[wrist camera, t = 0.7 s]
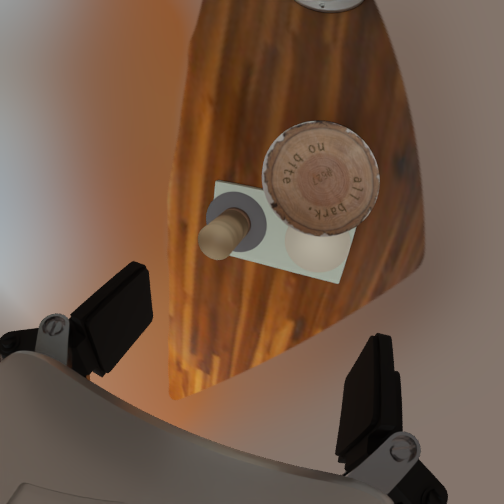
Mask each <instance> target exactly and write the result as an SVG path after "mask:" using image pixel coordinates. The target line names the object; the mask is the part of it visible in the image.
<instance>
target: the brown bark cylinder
mask: <svg viewBox="0 0 504 504" xmlns="http://www.w3.org/2000/svg"><path fill="white" fill-rule="evenodd" d="M379 183H380V180H379V170H378V166H377V163H376V160H375V157H374V155H373V153H372V152H371V150H370V148H369V147H368V145H367V144H366V143H365V142H364V140H363V139H362V138H361V137H360V136H358V135H357V134H356V133H355V132H353V131H352V130H350V129H349V128H347V127H345V126H343V125H340V124H337V123H334V122H329V121H309V122H304V123H301V124H298V125H296V126H293V127H291V128H289V129H288V130H286V131H285V132H283V133H282V134H281V135H280V136H279V137H278V138H277V139H276V140H275V141H274V142H273V144H272V145H271V146H270V148H269V150H268V152H267V154H266V156H265V159H264V163H263V168H262V185H263V190H264V194H265V196H266V199H267V201H268V203H269V205H270V207H271V208H272V210H273V211H274V213H275V214H276V215H277V216H278V217H279V218H280V219H281V220H282V221H283V222H284V223H285V224H287V225H288V226H290V227H291V228H293V229H295V230H297V231H299V232H301V233H304V234H307V235H311V236H319V237H328V236H335V235H339V234H342V233H345V232H347V231H350V230H351V229H353V228H355V227H356V226H357V225H359V224H360V223H361V222H362V221H363V220H364V219H365V218H366V217H367V216H368V215H369V213H370V212H371V210H372V208H373V207H374V204H375V202H376V200H377V196H378V192H379Z"/></svg>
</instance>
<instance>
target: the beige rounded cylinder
mask: <svg viewBox="0 0 504 504" xmlns="http://www.w3.org/2000/svg"><path fill="white" fill-rule="evenodd" d="M250 228H251V221H250V218H249V216H248V214H247V213H246V212H245V211H243V210H242V209H240V208H236V207H231V208H228V209H226V210H225V211H224V212H222V213H221V214H220V215H219V216H218V217H216V218H215V219H214V220H213V221H211V222H210V223H209V224H208V225H206V226H205V227H204V228H203V229H202V230H201V231H200V233H199V236H198V243H199V246H200V249H201V250H202V252H203V253H204V254H205V255H206V256H208V257H209V258H211V259H215V260H222V259H225V258H227V257H228V256H229V255H230V254H231V253H232V251H233V250H234V249H235V248H236V247H237V245H238V244H239V243H240V242H241V241H242V239H243V238H244V237H245V236H246V235H247V234H248V233H249V231H250Z"/></svg>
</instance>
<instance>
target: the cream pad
mask: <svg viewBox="0 0 504 504" xmlns="http://www.w3.org/2000/svg"><path fill="white" fill-rule="evenodd" d="M285 247H286V251H287V253H288V255H289V257H290V258H291V259H292V261H293V262H294V263H295V264H296V265H298V266H299V267H301V268H302V269H305V270H307V271H310V272H317V273H320V272H327V271H331V270H333V269H335V268H337V267H338V266H339V265H341V264H342V263H343V262H344V260H345V259H346V257H347V256H348V253H349V250H350V235H349V232H348V231H347V232H345V233H342V234H339V235H335V236H328V237H319V236H311V235H307V234H304V233H301V232H299V231H297V230H295V229H293V228H291V227H290V226H288V228H287V231H286V234H285Z"/></svg>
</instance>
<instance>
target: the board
mask: <svg viewBox="0 0 504 504" xmlns="http://www.w3.org/2000/svg"><path fill="white" fill-rule="evenodd" d="M231 207H236V208H240V209H242V210H243V211H245V212H246V213H247V214H248V216H249V218H250V221H251V228H250V231H249V233H248V234H247V235H246V236H245V237H244V238H243V239H242V241H241V242H240V243H239V244H238V245H237V247H236V248H235V249H234V250H233V251H232V253H231V254H230V256H234V257H237V258H241V259H245V260H249V261H252V262H256V263H260V264H264V265H267V266H271V267H275V268H279V269H283V270H287V271H290V272H294V273H298V274H302V275H306V276H310V277H313V278H317V279H321V280H325V281H329V282H333V283H337V284H339V281H340V278H341V275H342V272H343V269H344V266H345V263H346V260H347V257H346V259H345V260H344V262H343V263H342V264H341V265H339V266H338V267H337V268H335V269H333V270H331V271H327V272H320V273H317V272H310V271H307V270H305V269H302V268H301V267H299V266H298V265H296V264H295V263H294V262H293V261H292V259H291V258H290V257H289V255H288V253H287V251H286V247H285V234H286V231H287V228H288V225H287V224H285V223H284V222H283V221H282V220H281V219H280V218H279V217H278V216H277V215H276V214H275V213H274V211H273V210H272V208H271V207H270V205H269V203H268V201H267V199H266V196H265V194H264V190H263V189H262V188H257V187H252V186H247V185H242V184H237V183H232V182H227V181H221V180H217V181H216V182H215V193H214V200H213V201H212V202H211V204H210V205H209V208H208V210H207V215H206V222H207V225H208V224H209V223H210V222H211V221H213V220H214V219H215V218H216V217H218V216H219V215H220V214H221V213H222V212H224V211H225V210H226V209H228V208H231ZM355 229H356V227H355V228H353V229H351V230H350V231H348V232H349V235H350V247H351V243H352V240H353V236H354V233H355Z"/></svg>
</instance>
